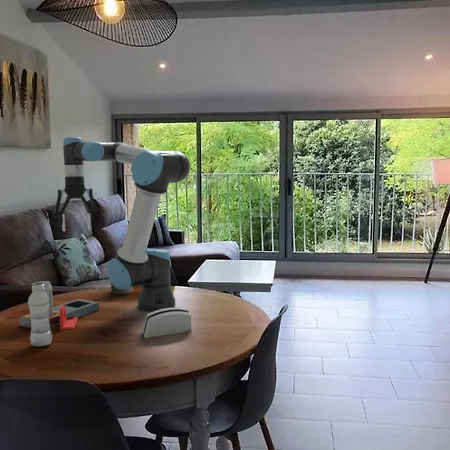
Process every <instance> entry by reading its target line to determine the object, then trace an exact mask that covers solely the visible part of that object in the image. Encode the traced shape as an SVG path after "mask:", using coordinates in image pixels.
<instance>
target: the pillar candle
mask: <svg viewBox="0 0 450 450" xmlns="http://www.w3.org/2000/svg"><path fill="white" fill-rule="evenodd" d="M110 287H111V288H110V291H111V294H114V295H127V293H128V294H130V293H133V292H134V286H133V287H130V288H125V289H118V288H116V287H115V286H113V284H112V283H111V282H110ZM132 291H133V292H132Z"/></svg>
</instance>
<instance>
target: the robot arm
mask: <svg viewBox="0 0 450 450" xmlns="http://www.w3.org/2000/svg"><path fill="white" fill-rule="evenodd" d="M62 141H63V142H62V143H63V145H62V146H63V147H62V150H63V152H62V153H63V163H64V164H63V165H64V175H65V177H64V185H65V187H64V189H57V199H56V202H55V207H54V211H53V212H54V215H55V214H56V215H58V217H59V218H58V219H59V223H60V224H62V226H61V227H62V228H61V229H62V231H63V232H66V217H65V214H64V213H65V210H66V208H67V207H68V204H69V203H70V201H71V200H74V199H80V200H81V202H82V203H83V205H84V206H85V209H87V211H88V213H87V215H86V216H87V229H88V231H90V230H92V222H94V214H95V213H97V212H98V208H97V205H96V202H95V199H94V195H93V188H86V186H85V177H84V174H85V172H84V171H85V170H84V169H85V168H84V162H102V161H103V162H105V161H107V162H108V161H109V162H118V163H122V164H126V165H131V166H130V172H131V178H132V180H133V181H134V184H133V185H134V186H135V188H136V194H135V197H134V202H133V205H132V208H131V214H130V218H129V222H128V225H127V229H126V233H125V237H124V241H123V246H122V247H119V248H118V250H117V252H116V255H115V258H111V259H110V260H108V262H107V265H106V274H107V277H108V280H109V281H110V284H111V283H112V284H113V286H115V287H116V288H118V289H125V288H130V287H133V288H134V287H137V286H140V285H141V286H140V287H141V288H140V290H139V291H140V292H139V294H138V299H137V301H136V305H137V306H136V307H137V309H139V310H142V311H147V312H154V311H157V310H161V309H165V308H175V307H176V299H175V295H174V293H173V289H172V287H171V255H170V252H169V251H168V250H167V249H162V248H148V245H149V240H150V238H151V234H152V230H153V227H154V224H155V218H156V216H157V212H158V208H159V204H160V201H161V197H162V196H163V195H165V194H166V193H167V191H168V188H169V184H175V183H180V182H182V181H184V180H185V179H186V178H187V177H188V176H189V173H190V171H191V162H190V159H189V157H188V156H187V155H186V153H183V152H182V151H180V150H156V149H150V148H145V147H140V146H135V145H130V144H127V143H125V142H122V141H121V142H119V141H115V142H114V141H113V142H112V141H110V142H109V141H108V142H107V141H93V140H92V141H91V140H90V141H83V138H81V137H78V136H75V137H74V136H72V137H71V136H70V137H64V138H63V140H62ZM64 193H65V195H66V196H65V197H66V198H65V200H64V202H63V204H62V206H61V207H60V205H61V202H62V201H61V200H62V197H63V196H62V195H64ZM85 193H86V194H87V195H88V197H89V201H90V203H91V206H90V204H89V203H88V202H87V199H86V198H85V196H84V194H85ZM91 207H92V208H91Z"/></svg>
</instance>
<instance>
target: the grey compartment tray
mask: <svg viewBox="0 0 450 450" xmlns="http://www.w3.org/2000/svg"><path fill="white" fill-rule="evenodd" d="M63 305H65V308H66V320H68V319H70V320H71V319H72V318H73V317H78V318H81V317H83V316H86V315H89V314H92V313H95V312H97V311H100V302H99V301H93V300H88V299H80V298H77V299H74V300H73V299H72V300H71V301H68V302H64V303H61V304H59V305H55V306H53V316H50V317H49V324H50V328H52V327H56V326H58V325H59V326H60V306H63ZM19 317H20V318H19V319H20V320H19V321H20V327H25V328H29V329H31V314H30V313H29V314H25V315H22V316H19Z"/></svg>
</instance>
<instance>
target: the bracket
mask: <svg viewBox="0 0 450 450" xmlns="http://www.w3.org/2000/svg"><path fill="white" fill-rule="evenodd" d="M78 318H79V317H73V318H72V319H71V320H70V319H68V320H66V308H65V305H63V306H60V324H59V330H60V331H61V330H62V331H63V330H73V329H75V327H76V325H77V322H78V320H79V319H78Z"/></svg>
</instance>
